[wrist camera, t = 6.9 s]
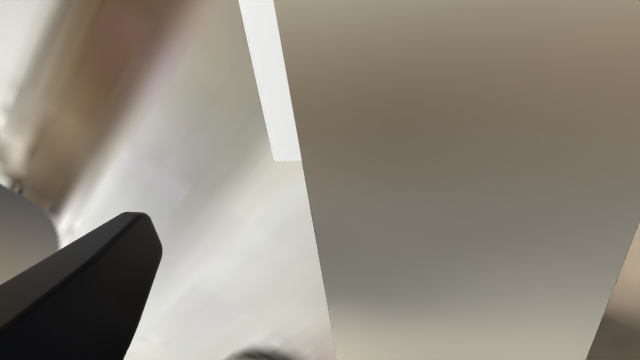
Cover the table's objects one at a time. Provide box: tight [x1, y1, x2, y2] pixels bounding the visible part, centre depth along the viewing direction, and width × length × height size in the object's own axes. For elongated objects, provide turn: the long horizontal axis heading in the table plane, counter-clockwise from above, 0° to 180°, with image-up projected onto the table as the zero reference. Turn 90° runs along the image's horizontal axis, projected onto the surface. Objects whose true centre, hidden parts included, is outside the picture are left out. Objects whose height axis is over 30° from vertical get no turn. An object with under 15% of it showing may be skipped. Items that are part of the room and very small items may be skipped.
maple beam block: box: [273, 0, 640, 360], centre depth 8 cm, size 12×4×6 cm, turn 7°
